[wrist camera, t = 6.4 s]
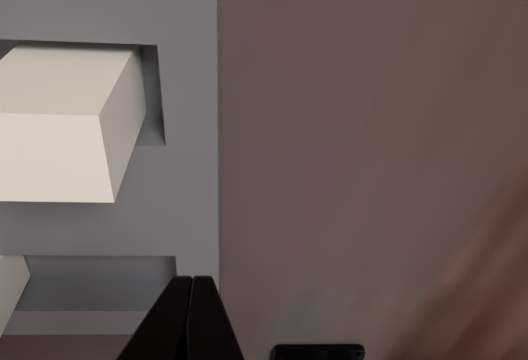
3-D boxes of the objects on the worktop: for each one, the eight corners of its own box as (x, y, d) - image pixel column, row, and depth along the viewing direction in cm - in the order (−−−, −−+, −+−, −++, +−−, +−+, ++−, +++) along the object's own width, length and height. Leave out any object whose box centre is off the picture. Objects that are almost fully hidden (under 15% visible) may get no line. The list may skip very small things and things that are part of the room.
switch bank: (220, -41, 17) (215, -11, 14) (221, 278, 28) (218, 343, 24) (-286, -67, 16) (-442, -41, 12) (-85, 277, 27) (-137, 345, 23)
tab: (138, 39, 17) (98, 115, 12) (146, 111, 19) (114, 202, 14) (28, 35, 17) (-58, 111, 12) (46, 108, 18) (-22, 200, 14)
